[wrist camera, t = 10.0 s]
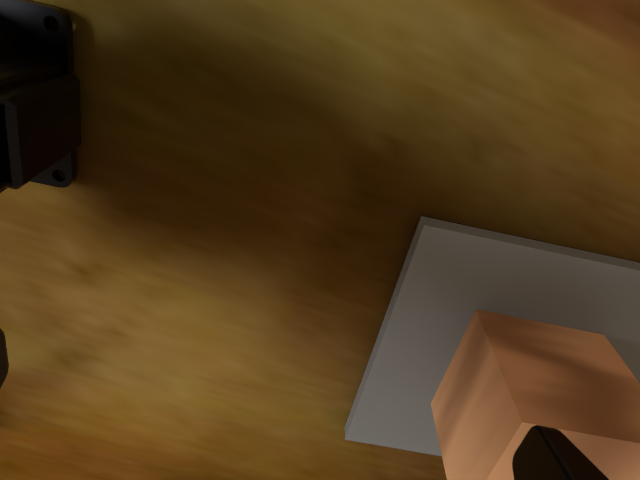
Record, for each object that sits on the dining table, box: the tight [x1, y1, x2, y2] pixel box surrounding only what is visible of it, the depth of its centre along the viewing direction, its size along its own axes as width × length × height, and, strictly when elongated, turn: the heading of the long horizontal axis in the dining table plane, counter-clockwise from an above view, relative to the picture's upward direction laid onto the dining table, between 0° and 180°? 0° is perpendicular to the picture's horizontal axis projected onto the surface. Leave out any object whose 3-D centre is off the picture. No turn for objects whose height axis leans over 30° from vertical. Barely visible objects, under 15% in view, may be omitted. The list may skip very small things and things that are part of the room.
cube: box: [431, 309, 640, 480], centre depth 20 cm, size 6×6×6 cm
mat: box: [345, 216, 640, 456], centre depth 23 cm, size 13×13×1 cm
